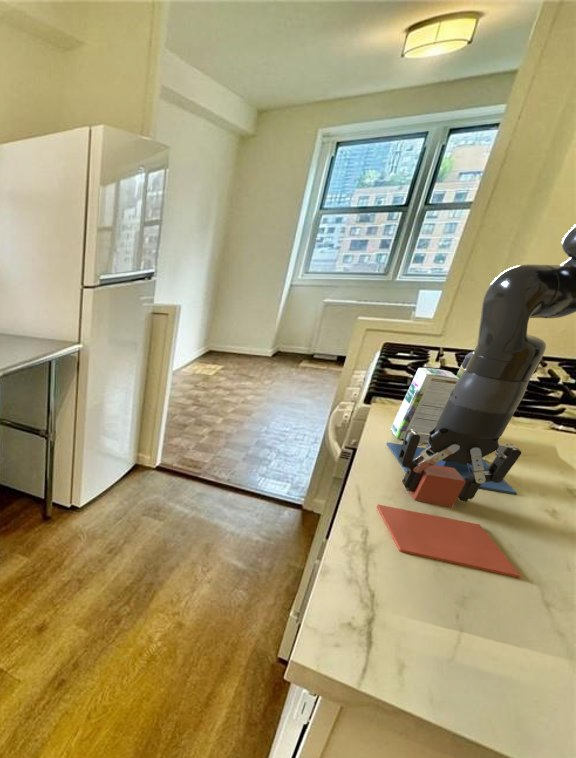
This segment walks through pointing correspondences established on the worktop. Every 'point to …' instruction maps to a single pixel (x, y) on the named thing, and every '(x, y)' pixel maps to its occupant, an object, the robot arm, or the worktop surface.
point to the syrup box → (424, 401)
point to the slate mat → (491, 485)
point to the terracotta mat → (445, 540)
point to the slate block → (453, 465)
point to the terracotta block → (439, 486)
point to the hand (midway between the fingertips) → (434, 494)
